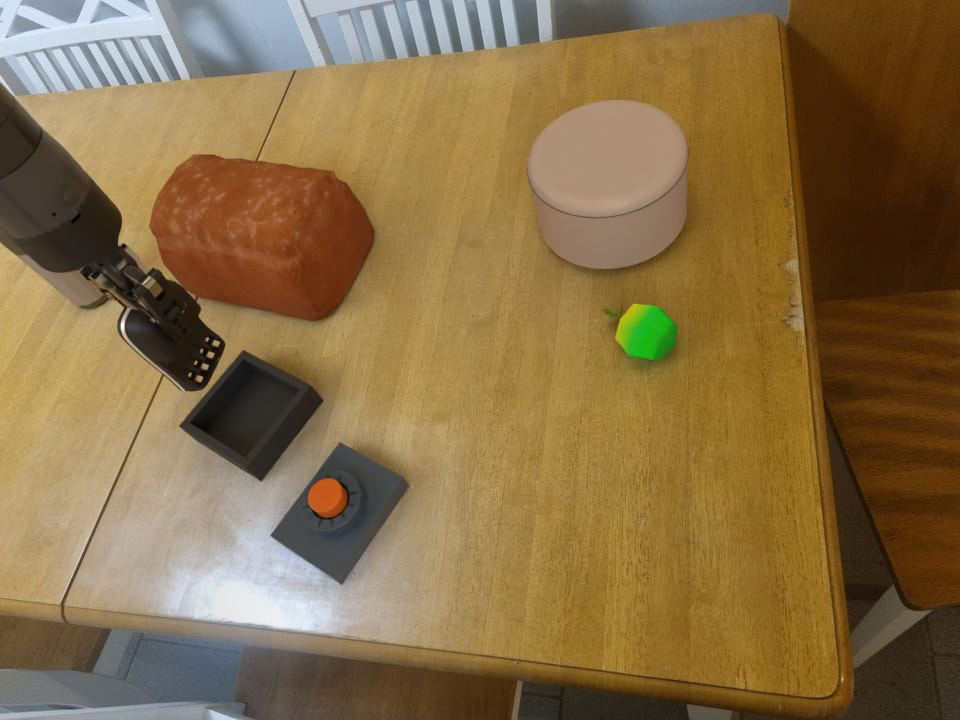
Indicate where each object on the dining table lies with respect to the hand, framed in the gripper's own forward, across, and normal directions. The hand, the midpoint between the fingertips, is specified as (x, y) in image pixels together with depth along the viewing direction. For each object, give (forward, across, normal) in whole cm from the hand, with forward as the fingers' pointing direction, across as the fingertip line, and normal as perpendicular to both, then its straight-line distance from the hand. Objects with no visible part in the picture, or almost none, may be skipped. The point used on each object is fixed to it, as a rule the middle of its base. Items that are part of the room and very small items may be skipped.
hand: (168, 325), depth 70 cm
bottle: (+20, -39, +4) cm, 44 cm away
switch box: (+20, +16, -4) cm, 26 cm away
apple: (+20, +34, +28) cm, 48 cm away
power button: (+17, +16, -4) cm, 23 cm away
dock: (+20, -1, 0) cm, 20 cm away
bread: (+20, -15, +20) cm, 32 cm away
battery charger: (+8, 0, 0) cm, 8 cm away
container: (+20, +23, +43) cm, 53 cm away
